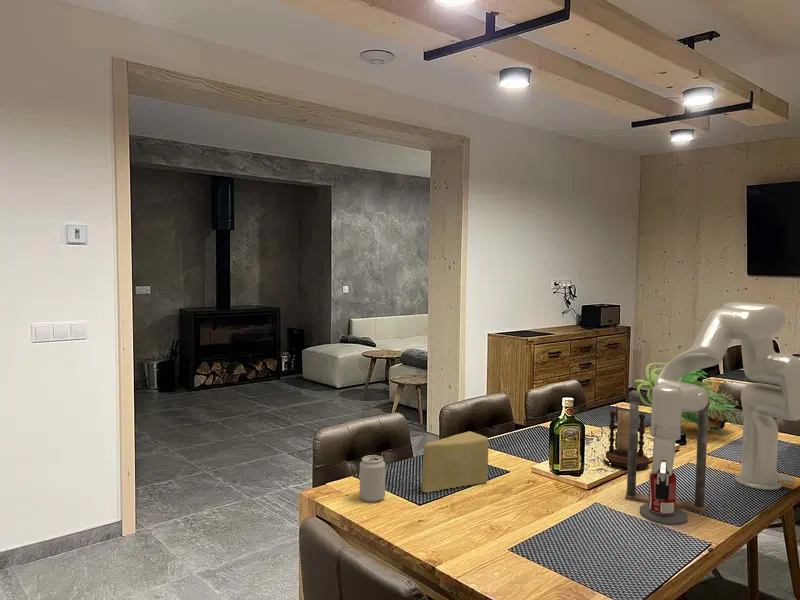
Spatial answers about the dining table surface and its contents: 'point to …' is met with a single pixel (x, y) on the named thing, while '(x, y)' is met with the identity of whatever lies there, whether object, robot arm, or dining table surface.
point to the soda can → (658, 504)
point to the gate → (700, 460)
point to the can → (372, 478)
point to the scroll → (624, 440)
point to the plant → (715, 416)
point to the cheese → (455, 462)
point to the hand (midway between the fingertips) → (662, 492)
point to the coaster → (672, 519)
